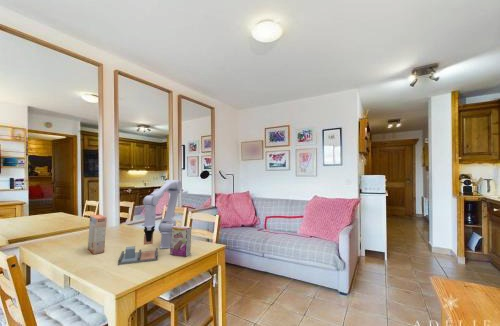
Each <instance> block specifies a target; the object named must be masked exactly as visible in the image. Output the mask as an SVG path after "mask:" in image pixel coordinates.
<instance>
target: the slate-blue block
mask: <svg viewBox="0 0 500 326" xmlns="http://www.w3.org/2000/svg"><path fill="white" fill-rule="evenodd" d="M135 253H136V245H135V246H126V248H125V251H124V254H125V259H129V258H134V257H135Z"/></svg>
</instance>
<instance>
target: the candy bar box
mask: <svg viewBox="0 0 500 326" xmlns="http://www.w3.org/2000/svg"><path fill="white" fill-rule="evenodd" d="M191 244H192V227H191V226H184V225H178V224H176V226H173V227H171V248H170V255H172V256H178V257H183V258H187V257H188V256H190V255H191Z"/></svg>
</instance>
